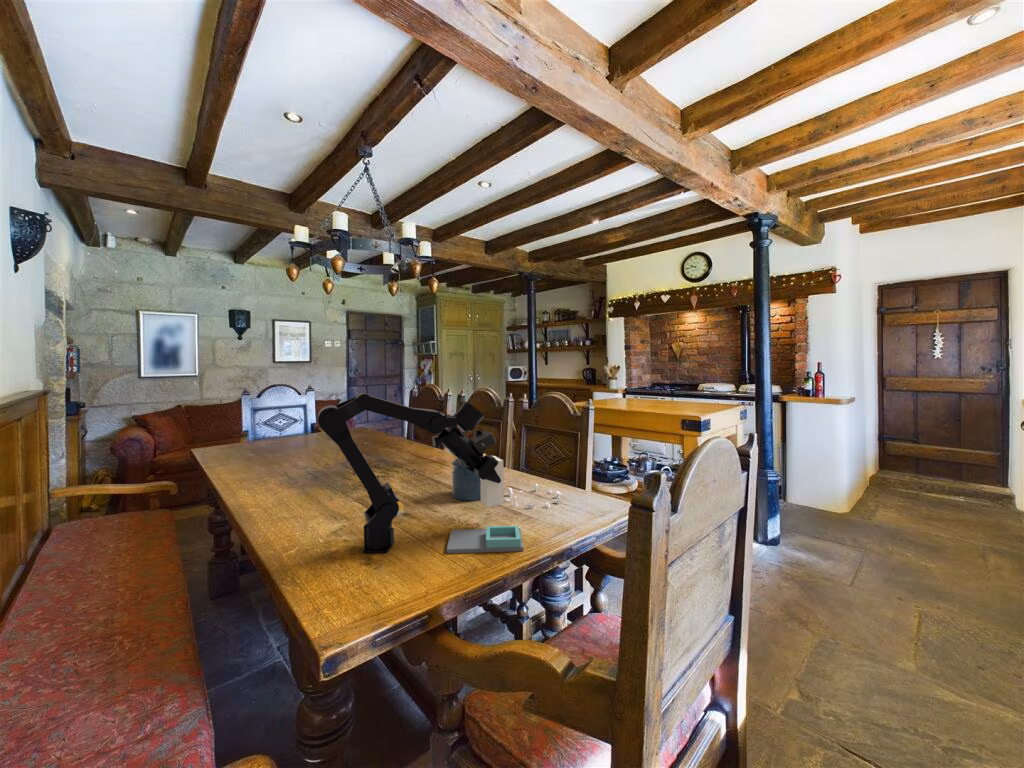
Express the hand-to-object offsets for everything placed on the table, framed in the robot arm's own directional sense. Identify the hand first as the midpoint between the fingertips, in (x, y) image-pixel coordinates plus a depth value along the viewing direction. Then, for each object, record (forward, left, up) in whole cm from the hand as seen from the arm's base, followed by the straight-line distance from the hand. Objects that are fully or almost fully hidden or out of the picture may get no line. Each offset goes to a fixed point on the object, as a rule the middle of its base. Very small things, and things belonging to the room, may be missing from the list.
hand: (496, 479), depth 122 cm
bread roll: (-34, +10, -14) cm, 38 cm away
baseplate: (-2, -11, -13) cm, 17 cm away
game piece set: (+11, +23, -14) cm, 29 cm away
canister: (-11, +27, -14) cm, 32 cm away
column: (-1, -1, -7) cm, 7 cm away
